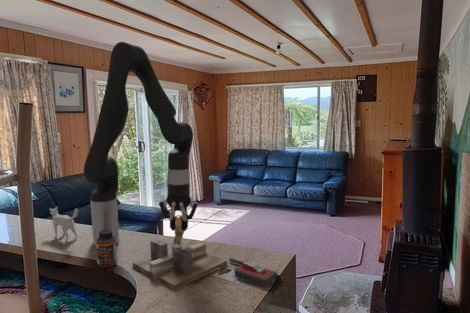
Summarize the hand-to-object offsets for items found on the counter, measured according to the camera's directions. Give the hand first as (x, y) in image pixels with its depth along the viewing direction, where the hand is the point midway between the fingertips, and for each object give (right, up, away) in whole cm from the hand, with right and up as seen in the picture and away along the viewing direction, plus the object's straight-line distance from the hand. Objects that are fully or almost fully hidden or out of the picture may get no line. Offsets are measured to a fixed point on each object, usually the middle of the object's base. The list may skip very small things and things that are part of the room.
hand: (178, 229), depth 119 cm
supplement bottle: (-23, -10, -6) cm, 26 cm away
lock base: (+1, -10, -9) cm, 13 cm away
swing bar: (+1, -3, -4) cm, 5 cm away
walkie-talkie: (+24, -11, -14) cm, 30 cm away
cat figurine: (-48, -7, +17) cm, 51 cm away
